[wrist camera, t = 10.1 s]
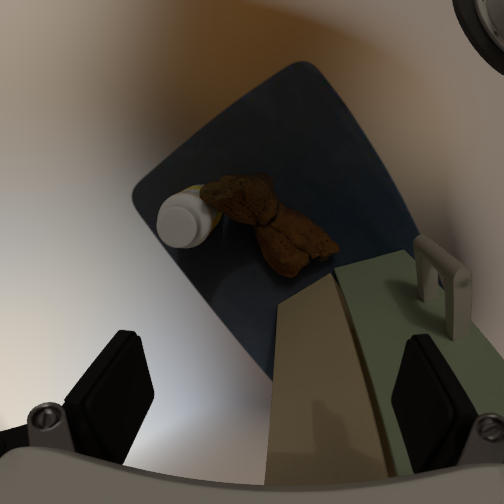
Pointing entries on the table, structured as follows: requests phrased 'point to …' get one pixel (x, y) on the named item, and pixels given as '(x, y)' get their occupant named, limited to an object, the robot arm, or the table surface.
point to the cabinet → (322, 397)
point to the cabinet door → (419, 328)
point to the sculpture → (270, 221)
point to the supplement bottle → (186, 219)
